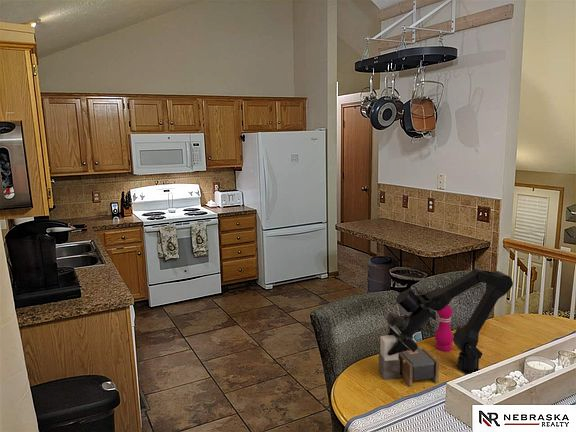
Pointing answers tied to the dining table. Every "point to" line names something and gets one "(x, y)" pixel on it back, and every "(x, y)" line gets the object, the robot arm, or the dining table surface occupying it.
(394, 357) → the off-white block
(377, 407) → the dining table surface
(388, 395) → the dining table surface
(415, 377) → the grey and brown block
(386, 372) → the stand
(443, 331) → the pepper mill
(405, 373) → the frame
